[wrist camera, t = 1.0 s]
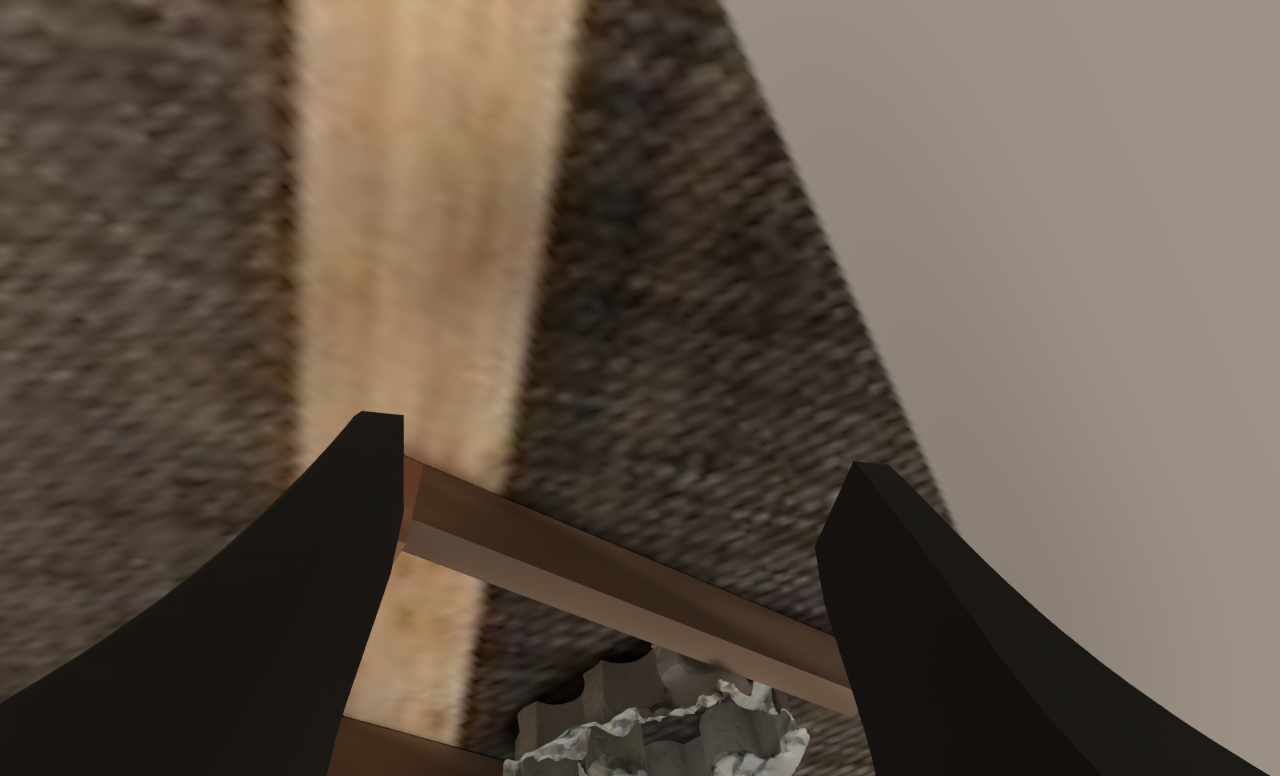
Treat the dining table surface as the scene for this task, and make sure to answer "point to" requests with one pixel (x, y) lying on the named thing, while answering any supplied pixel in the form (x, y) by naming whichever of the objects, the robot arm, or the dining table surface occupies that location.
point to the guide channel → (583, 612)
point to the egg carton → (649, 690)
